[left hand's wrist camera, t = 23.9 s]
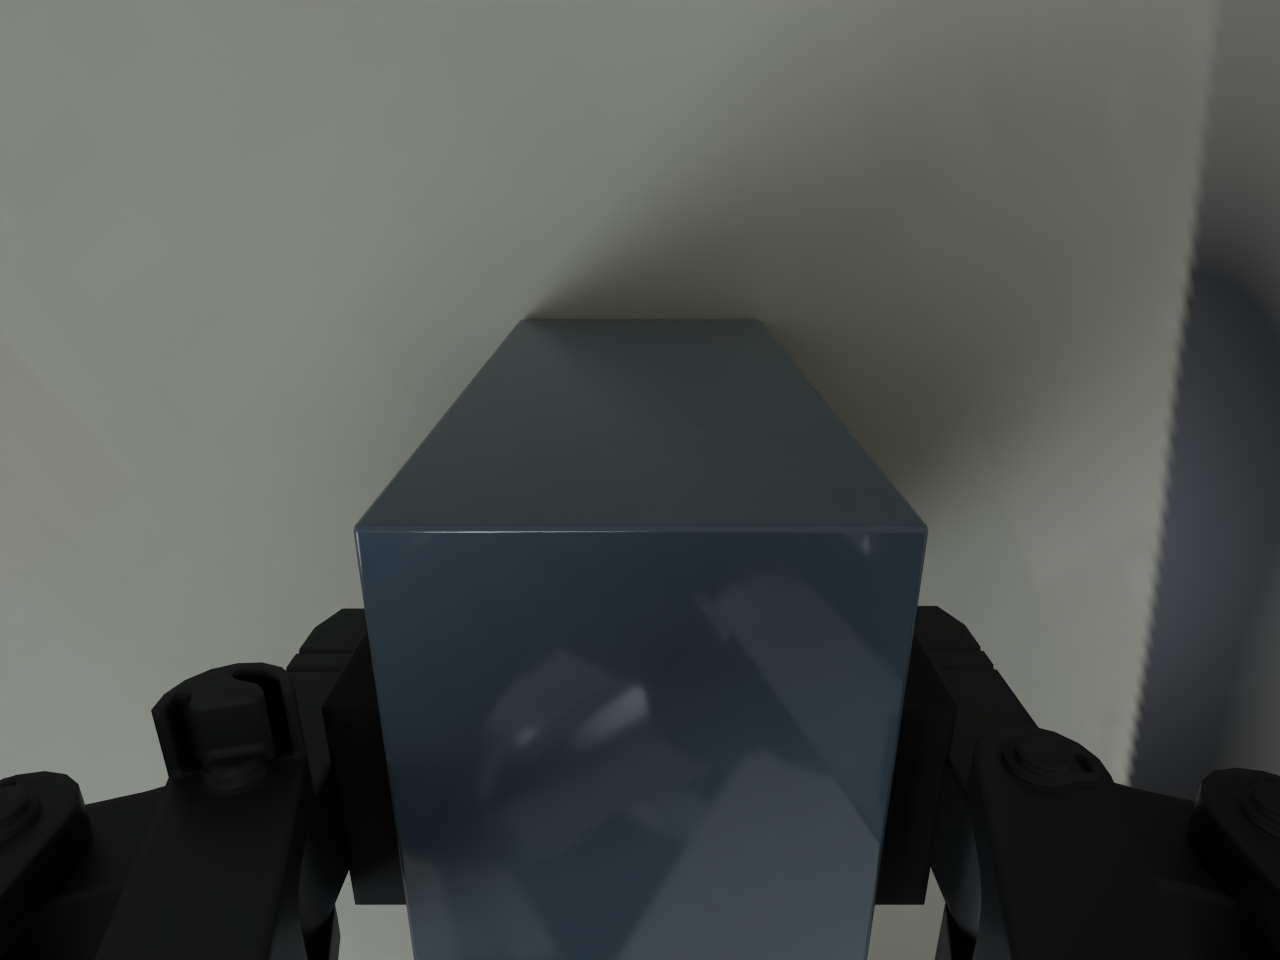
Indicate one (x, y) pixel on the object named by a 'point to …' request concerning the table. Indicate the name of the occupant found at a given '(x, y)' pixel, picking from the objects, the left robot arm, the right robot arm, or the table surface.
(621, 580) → the brick
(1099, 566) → the table surface
